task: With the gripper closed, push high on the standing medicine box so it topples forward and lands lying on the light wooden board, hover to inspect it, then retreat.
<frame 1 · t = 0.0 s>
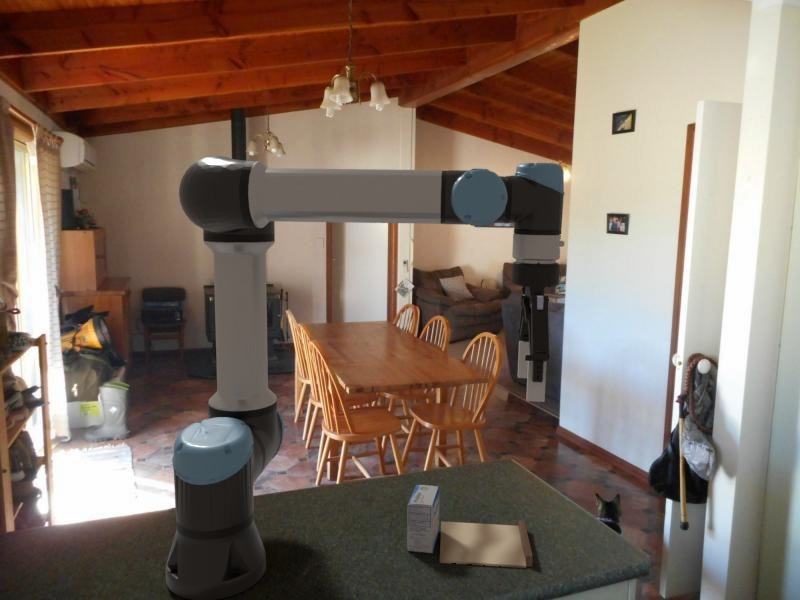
hand: (530, 388, 103), 28 cm above the counter, fingers open, 13 cm apart
stop rail: (524, 546, 107), on the counter
light wooden board: (481, 544, 108), on the counter
medicine box: (423, 542, 109), on the counter
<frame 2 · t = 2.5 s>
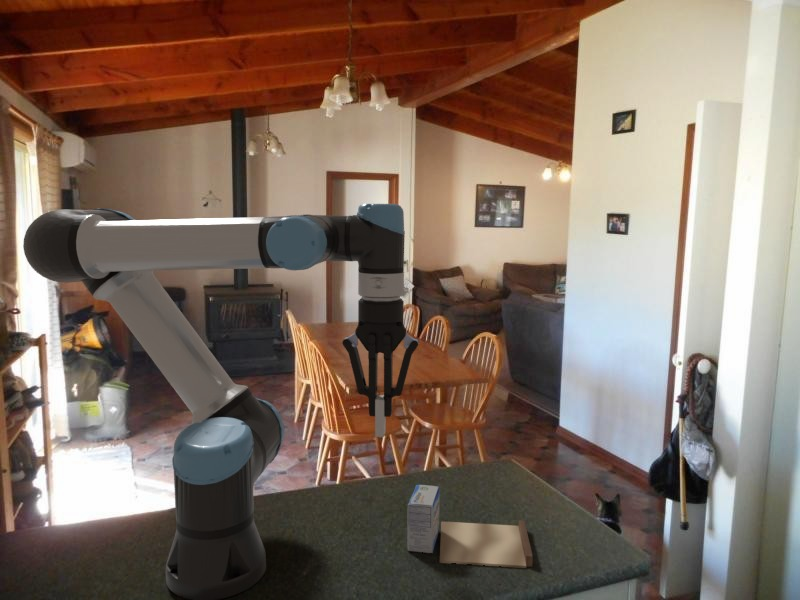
hand: (380, 434, 106), 19 cm above the counter, fingers closed
nothing on the counter moved.
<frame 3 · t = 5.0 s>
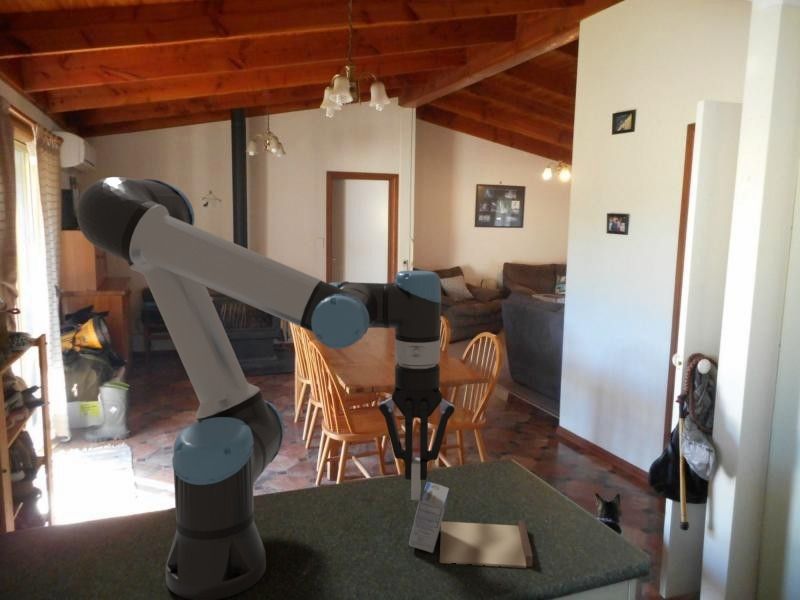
hand: (415, 496, 107), 8 cm above the counter, fingers closed
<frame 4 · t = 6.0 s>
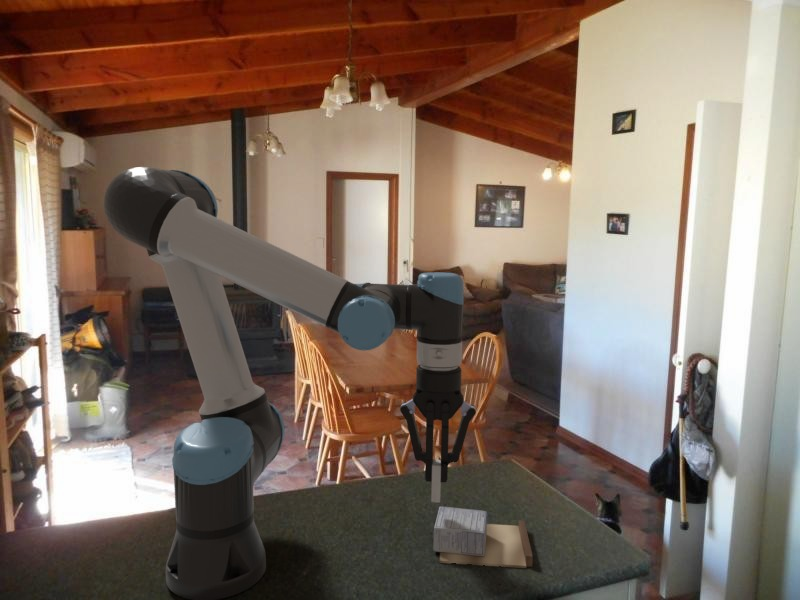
hand: (435, 498, 107), 8 cm above the counter, fingers closed
medicine box: (434, 527, 108), point 3 cm above the counter, touching light wooden board
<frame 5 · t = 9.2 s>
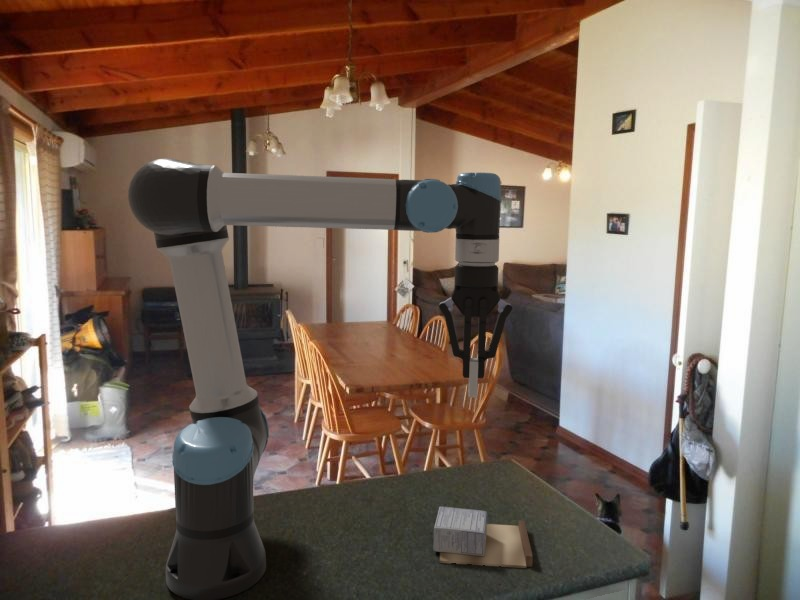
hand: (472, 395, 111), 25 cm above the counter, fingers closed
nothing on the counter moved.
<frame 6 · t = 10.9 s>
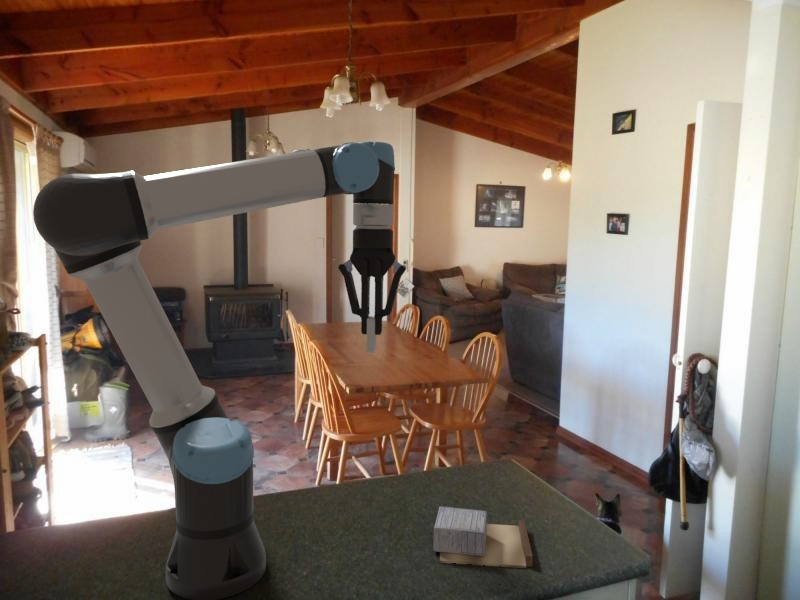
hand: (371, 350, 120), 30 cm above the counter, fingers closed
nothing on the counter moved.
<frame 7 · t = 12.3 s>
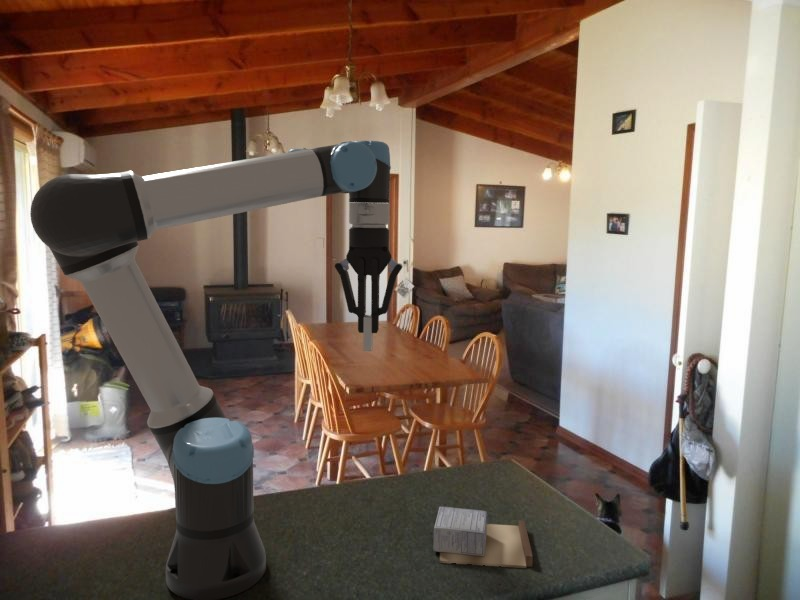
hand: (368, 349, 120), 30 cm above the counter, fingers closed
nothing on the counter moved.
at the end: medicine box tilted 90°; medicine box inside the target area (5.1 cm from its centre), point 2.6 cm above the counter; the gripper is holding nothing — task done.
